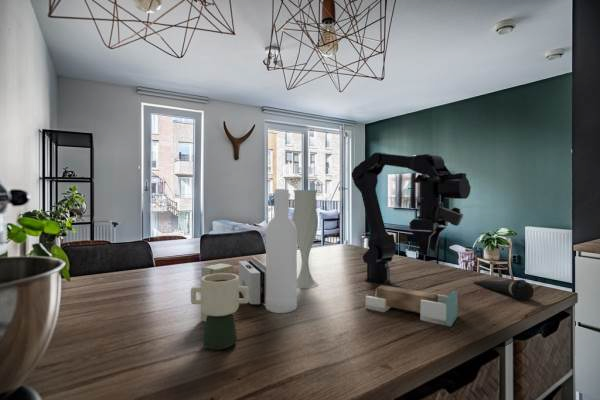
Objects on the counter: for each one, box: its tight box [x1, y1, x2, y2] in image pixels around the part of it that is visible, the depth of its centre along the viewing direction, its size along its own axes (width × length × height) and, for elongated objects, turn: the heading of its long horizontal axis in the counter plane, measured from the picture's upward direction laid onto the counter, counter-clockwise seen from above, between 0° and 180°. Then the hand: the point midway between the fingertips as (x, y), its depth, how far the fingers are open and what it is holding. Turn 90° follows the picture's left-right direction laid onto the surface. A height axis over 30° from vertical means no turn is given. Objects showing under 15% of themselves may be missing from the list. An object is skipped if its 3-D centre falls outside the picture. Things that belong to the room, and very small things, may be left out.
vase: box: [292, 189, 319, 289], centre depth 107 cm, size 9×8×30 cm
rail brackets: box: [364, 290, 459, 327], centre depth 82 cm, size 20×8×6 cm, turn 55°
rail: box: [375, 284, 439, 313], centre depth 83 cm, size 14×4×4 cm, turn 55°
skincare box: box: [200, 262, 234, 323], centre depth 78 cm, size 6×4×12 cm
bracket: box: [238, 256, 266, 305], centre depth 93 cm, size 17×5×10 cm, turn 21°
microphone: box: [473, 279, 535, 301], centre depth 100 cm, size 6×6×20 cm
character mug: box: [190, 273, 249, 351], centre depth 64 cm, size 11×7×13 cm, turn 94°
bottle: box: [265, 188, 298, 314], centre depth 85 cm, size 8×8×30 cm
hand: (429, 252), depth 97 cm, fingers open, 9 cm apart
